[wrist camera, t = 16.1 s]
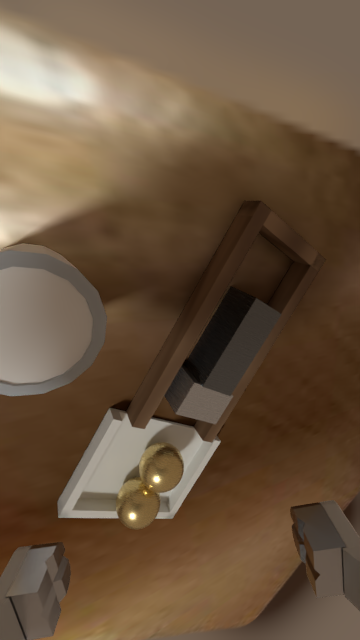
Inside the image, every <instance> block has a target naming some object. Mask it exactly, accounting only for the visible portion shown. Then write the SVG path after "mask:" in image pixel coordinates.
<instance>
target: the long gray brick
mask: <svg viewBox="0 0 360 640" xmlns="http://www.w3.org/2000/svg"><path fill="white" fill-rule="evenodd" d="M281 315H282V314H280V313H279V312H277V311H276V310H274V309H273V308H271V307H270V306H268V305H266V304H265V303H263V302H262V301H260V300H259V299H257V298H255V297H253V296H251V295H249V294H247V293H245V292H242V291H240V290H238V289H236V288H234V287H232V286H231V287H230V289H229V290H228V292H227V294H226V295H225V297H224V299H223V300H222V302H221V304H220V305H219V307H218V309H217V310H216V312H215V314H214V316H213V317H212V319H211V321H210V322H209V324H208V326H207V327H206V329H205V331H204V332H203V334H202V336H201V337H200V339H199V341H198V343H197V344H196V346H195V348H194V349H193V351H192V353H191V354H190V356H189V358H188V359H187V361H186V363H185V364H184V366H183V365H182V366H181V368H180V369H179V371H178V373H177V374H176V376H175V378H174V380H173V381H172V383H171V385H170V386H169V388H168V390H167V392H166V393H165V395H164V396H165V398H166V399H167V401H168V402H169V404H170V406H171V407H172V409H173V411H174V412H175V414H178V415H181V416H185V417H189V418H193V419H197V420H201V421H205V422H208V423H212V424H216V423H217V422H218V420H219V418H220V417H221V415H222V414H223V412H224V410H225V409H226V407H227V406H228V404H229V402H230V401H231V399H232V398H233V395H232V393H233V391H234V390H235V388H236V386H237V385H238V383H239V382H240V380H241V378H242V377H243V375H244V374H245V372H246V370H247V369H248V367H249V366H250V364H251V362H252V361H253V359H254V358H255V356H256V354H257V353H258V351H259V350H260V348H261V346H262V345H263V343H264V342H265V340H266V338H267V337H268V335H269V334H270V332H271V331H272V329H273V327H274V326H275V324H276V323H277V321H278V319H279V318H280V316H281Z"/></svg>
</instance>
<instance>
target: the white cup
mask: <svg viewBox="0 0 360 640" xmlns="http://www.w3.org/2000/svg"><path fill="white" fill-rule="evenodd" d="M106 321H107V316H106V313H105V310H104V307H103V304H102V301H101V298H100V296H99V293H98V291H97V290H96V289H95V288H94V286H93V285H92V284H91V283H90V282H89V281H88V280H87V279H86V278H85V277H84V276H83V274H82V273H81V272H80V271H79V270H78V269H77V268H76V267H75V266H73V265H72V264H71V263H70V262H69V261H68V260H66V259H65V258H64V257H63V256H62V255H61V254H59V253H57V252H55V251H53V250H51V249H49V248H47V247H45V246H42V245H34V244H25V243H22V244H18V245H14V246H10V247H6V248H2V249H0V394H4V395H8V396H20V395H32V394H43V393H46V392H48V391H51V390H53V389H56V388H58V387H61V386H63V385H66V384H68V383H71V382H72V381H73V380H74V379H76V378H77V377H78V376H79V375H80V374H82V373H83V372H84V371H85V370H86V369H88V368H89V367H90V366H91V365H92V364H93V362H94V360H95V358H96V356H97V355H98V353H99V351H100V349H101V347H102V346H103V344H104V341H105V331H106Z"/></svg>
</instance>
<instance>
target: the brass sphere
mask: <svg viewBox="0 0 360 640" xmlns="http://www.w3.org/2000/svg"><path fill="white" fill-rule="evenodd" d="M183 473H184V461H183V458H182V455H181V453H180V452H179V450H178V449H177V448H176V447H175V446H173V445H172V444H169V443H166V442H159V443H155V444H153V445H151V446H149V447H148V448H147V449H146V450H145V451H144V453H143V454H142V456H141V459H140V462H139V474H140V478H141V480H142V482H143V483H144V485H145V486H146V487H147V488H148V489H150V490H151V491H154V492H157V493H164V492H168V491H170V490H172V489H174V488H175V487H176V486H177V485H178V484H179V482H180V480H181V479H182V476H183Z"/></svg>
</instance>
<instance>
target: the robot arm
mask: <svg viewBox="0 0 360 640" xmlns="http://www.w3.org/2000/svg"><path fill="white" fill-rule="evenodd" d="M290 513H291V518H292V520H293V522H294V524H293V525H292V533H293V538H294V542H295V546H296V548H297V551H298V554H299V556H300V559H301V560H302V561H303V562H304V563H305V564H306V570H307V576H308V578H309V581H310V583H311V585H312V588H313V590H314V592H315V595H316V597H317V598H318V597H327V596H337V595H345V597H346V598H347V599H348V600H349V601H350V602H351V603H352V604H353V605H354V606H355V607H356V608H357V609H358V610H359V611H360V537H359V536H358V534H357V533H356V531H355V530H354V528H353V527H352V525H351V524H350V522H349V521H348V519H347V518H346V516H345V515H344V513H343V512H342V510H341V509H340V507H339V506H338V504H337V503H336V502H335V501H334V500H332V501H325V502H319V503H312V504H306V505H300V506H293V507H291V509H290ZM64 552H65V548H64V545H63V542H57V543H48V544H40V545H33V546H25V547H19V548H18V549H17V550H16V551H15V552H14V553H13V555H12V557H11V559H10V561H9V563H8V565H7V566H6V568H5V570H4V572H3V574H2V576H1V577H0V640H33V639H39V638H44V637H50V636H53V634H54V631H55V628H56V625H57V622H58V619H59V616H60V612H61V608H60V604H59V602H60V601H61V600H62V599H63V598H64V596H65V595H66V594H67V590H68V587H69V583H70V575H71V571H70V563H69V560H68V559H67V558H66V557H64V556H63V555H64Z"/></svg>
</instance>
